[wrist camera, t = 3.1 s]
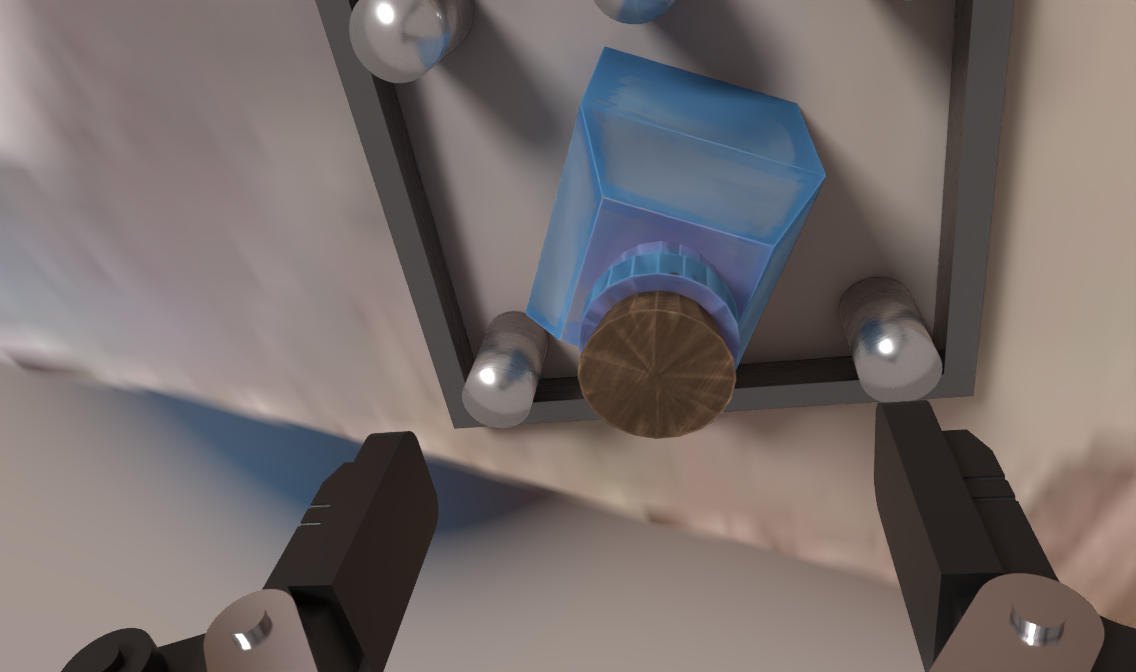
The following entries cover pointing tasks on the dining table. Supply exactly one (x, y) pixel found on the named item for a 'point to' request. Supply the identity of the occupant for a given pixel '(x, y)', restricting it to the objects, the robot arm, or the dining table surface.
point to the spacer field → (873, 374)
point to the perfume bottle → (670, 238)
